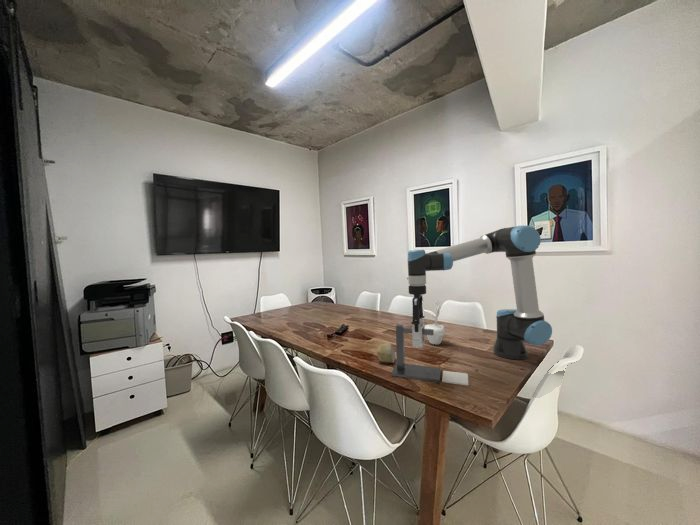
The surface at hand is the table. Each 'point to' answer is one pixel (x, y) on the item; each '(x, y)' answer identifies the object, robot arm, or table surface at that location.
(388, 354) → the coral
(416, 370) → the stand
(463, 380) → the pad
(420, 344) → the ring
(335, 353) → the table surface
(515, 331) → the robot arm
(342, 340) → the table surface
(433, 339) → the potted plant
